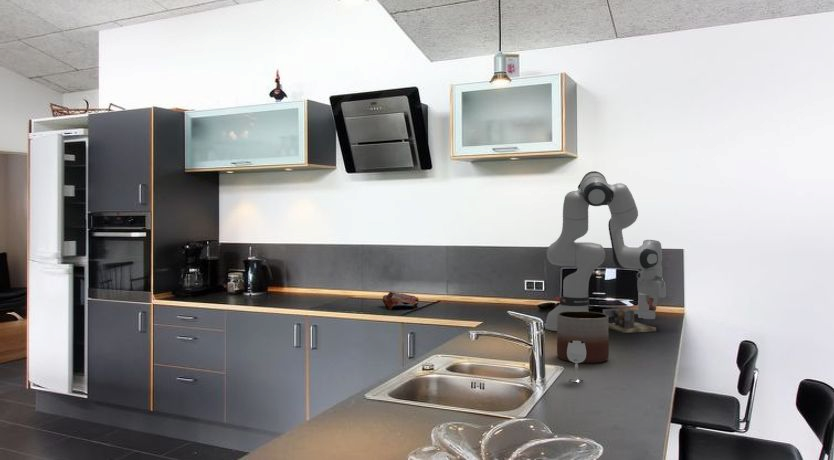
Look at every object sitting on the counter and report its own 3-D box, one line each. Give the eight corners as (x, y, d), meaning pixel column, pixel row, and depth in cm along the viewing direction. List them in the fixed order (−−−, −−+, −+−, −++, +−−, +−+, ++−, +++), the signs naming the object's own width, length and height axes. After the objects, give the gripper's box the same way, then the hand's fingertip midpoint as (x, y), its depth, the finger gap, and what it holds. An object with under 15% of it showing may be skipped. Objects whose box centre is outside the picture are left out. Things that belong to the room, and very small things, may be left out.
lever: (605, 317, 274) (605, 299, 274) (602, 315, 279) (602, 297, 278) (657, 316, 275) (657, 298, 275) (653, 315, 280) (653, 297, 280)
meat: (403, 304, 357) (403, 287, 356) (427, 308, 340) (427, 290, 340) (375, 307, 343) (375, 290, 343) (398, 312, 327) (398, 293, 327)
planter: (600, 367, 204) (601, 320, 204) (549, 360, 213) (550, 315, 213) (614, 356, 219) (614, 313, 219) (566, 351, 229) (566, 309, 228)
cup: (656, 319, 300) (656, 295, 300) (639, 318, 302) (639, 294, 302) (653, 316, 308) (653, 293, 308) (636, 316, 310) (637, 292, 310)
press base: (623, 332, 265) (623, 312, 265) (605, 326, 280) (605, 307, 280) (655, 331, 269) (656, 310, 269) (636, 325, 284) (636, 306, 283)
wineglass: (564, 378, 189) (564, 340, 188) (582, 378, 189) (582, 340, 189) (570, 383, 183) (570, 344, 183) (589, 383, 183) (589, 343, 183)
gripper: (670, 277, 268) (669, 308, 268) (647, 273, 288) (647, 302, 288) (656, 277, 267) (656, 308, 267) (634, 273, 287) (634, 302, 288)
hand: (651, 305), depth 278 cm, fingers open, 4 cm apart
